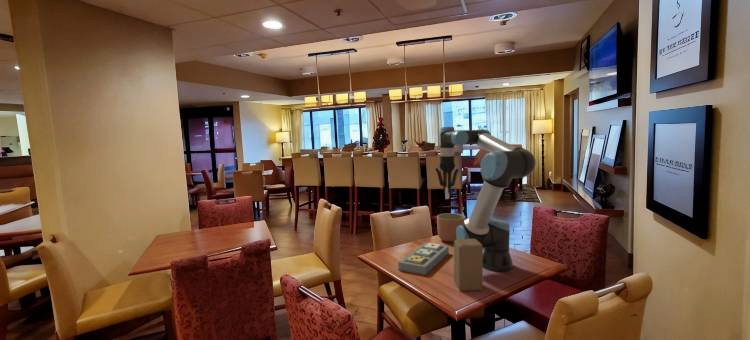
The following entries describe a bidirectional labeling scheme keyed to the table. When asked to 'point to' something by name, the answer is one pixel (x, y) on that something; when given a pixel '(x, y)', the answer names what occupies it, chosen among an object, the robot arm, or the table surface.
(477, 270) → the wooden block
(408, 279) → the table surface
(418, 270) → the tile board
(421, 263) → the tile three
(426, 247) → the tile one
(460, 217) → the planter
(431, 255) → the tile two
